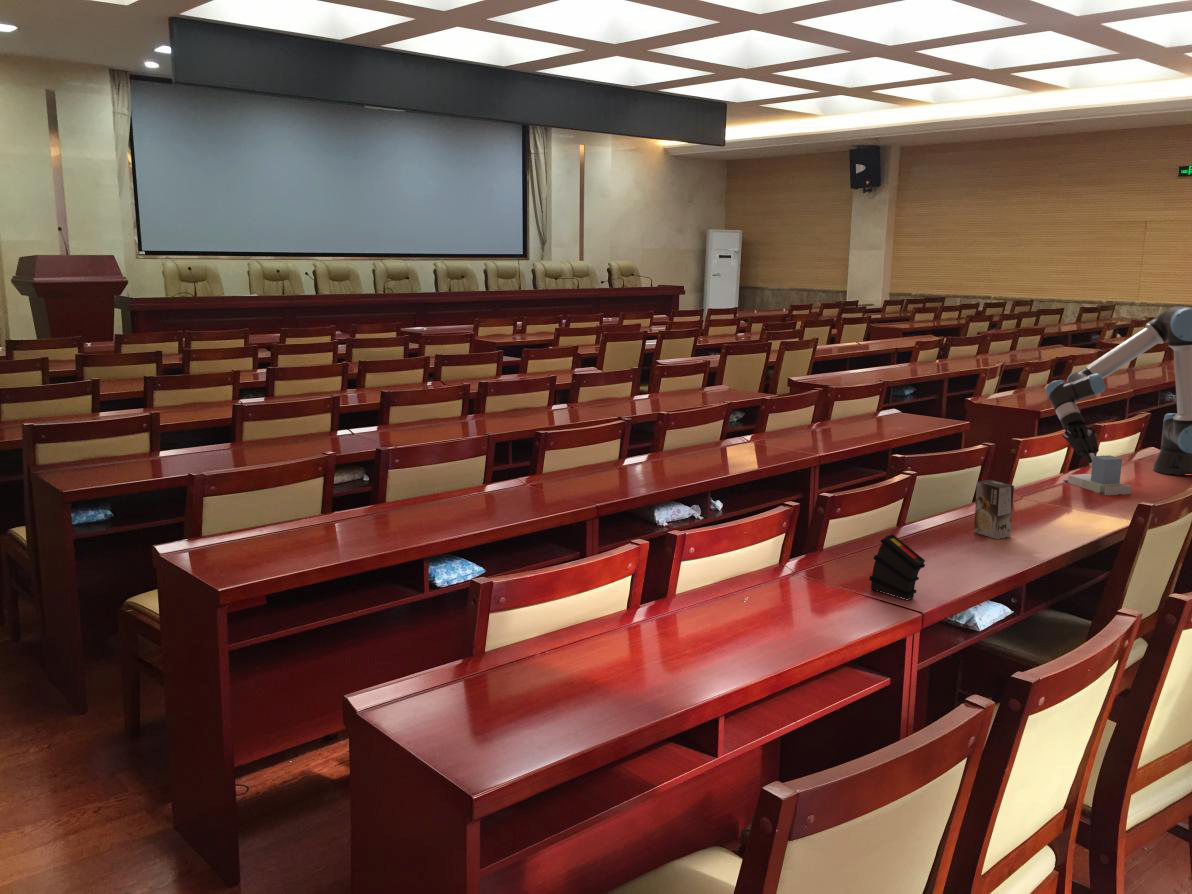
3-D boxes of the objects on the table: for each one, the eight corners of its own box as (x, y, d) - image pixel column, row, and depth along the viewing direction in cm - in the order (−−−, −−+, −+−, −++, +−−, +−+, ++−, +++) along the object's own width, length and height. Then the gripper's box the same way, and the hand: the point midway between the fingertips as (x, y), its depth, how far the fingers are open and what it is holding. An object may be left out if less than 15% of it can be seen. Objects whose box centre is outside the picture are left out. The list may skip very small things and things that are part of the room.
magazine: (868, 577, 249) (892, 532, 242) (906, 611, 241) (933, 565, 234) (859, 580, 247) (883, 535, 240) (897, 614, 239) (924, 569, 232)
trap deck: (1086, 479, 362) (1087, 472, 361) (1130, 493, 340) (1131, 485, 340) (1063, 481, 360) (1064, 473, 359) (1106, 495, 338) (1106, 487, 338)
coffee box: (1011, 537, 290) (1015, 485, 287) (995, 539, 287) (1000, 487, 284) (987, 529, 298) (991, 479, 295) (972, 532, 295) (976, 481, 292)
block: (1107, 479, 349) (1110, 455, 347) (1119, 483, 343) (1122, 458, 342) (1090, 480, 348) (1093, 456, 346) (1102, 484, 342) (1105, 459, 340)
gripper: (1080, 422, 366) (1106, 474, 353) (1049, 423, 363) (1075, 476, 351) (1091, 410, 360) (1118, 463, 347) (1060, 411, 357) (1087, 465, 344)
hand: (1097, 469), depth 349 cm, fingers closed
